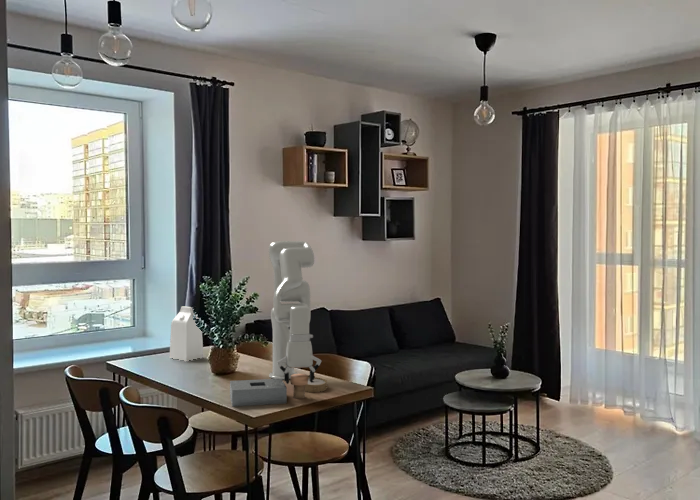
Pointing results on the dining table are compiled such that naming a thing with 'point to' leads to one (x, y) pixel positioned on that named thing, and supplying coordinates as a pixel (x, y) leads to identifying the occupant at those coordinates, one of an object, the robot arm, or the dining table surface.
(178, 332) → the milk
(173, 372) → the dining table surface
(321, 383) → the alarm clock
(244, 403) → the hitch block
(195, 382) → the dining table surface
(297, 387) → the peg
